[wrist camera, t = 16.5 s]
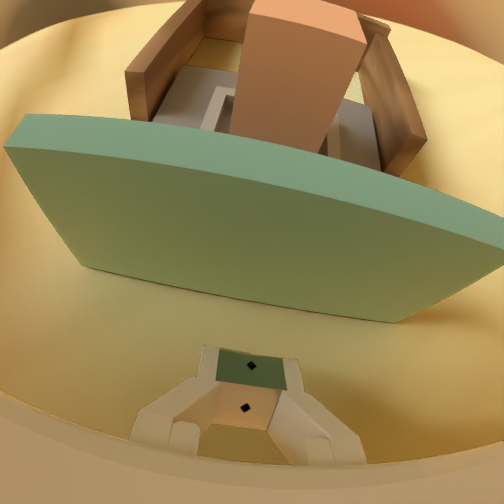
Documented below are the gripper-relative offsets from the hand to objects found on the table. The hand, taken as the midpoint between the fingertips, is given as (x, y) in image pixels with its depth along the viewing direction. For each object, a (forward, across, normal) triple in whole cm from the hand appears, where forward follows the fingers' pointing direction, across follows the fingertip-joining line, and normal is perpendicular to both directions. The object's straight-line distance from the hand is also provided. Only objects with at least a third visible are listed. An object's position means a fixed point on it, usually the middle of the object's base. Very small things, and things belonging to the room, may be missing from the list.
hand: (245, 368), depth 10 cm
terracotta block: (+11, 0, -7) cm, 13 cm away
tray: (+12, 0, -5) cm, 13 cm away
